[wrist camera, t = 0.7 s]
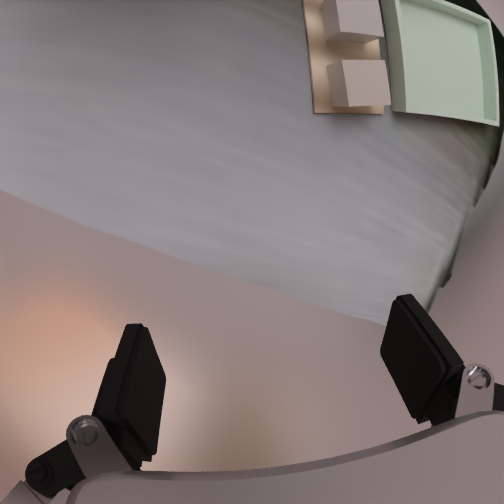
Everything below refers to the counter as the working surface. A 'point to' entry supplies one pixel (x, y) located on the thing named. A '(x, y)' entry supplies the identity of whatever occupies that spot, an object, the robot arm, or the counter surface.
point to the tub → (441, 60)
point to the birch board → (332, 60)
